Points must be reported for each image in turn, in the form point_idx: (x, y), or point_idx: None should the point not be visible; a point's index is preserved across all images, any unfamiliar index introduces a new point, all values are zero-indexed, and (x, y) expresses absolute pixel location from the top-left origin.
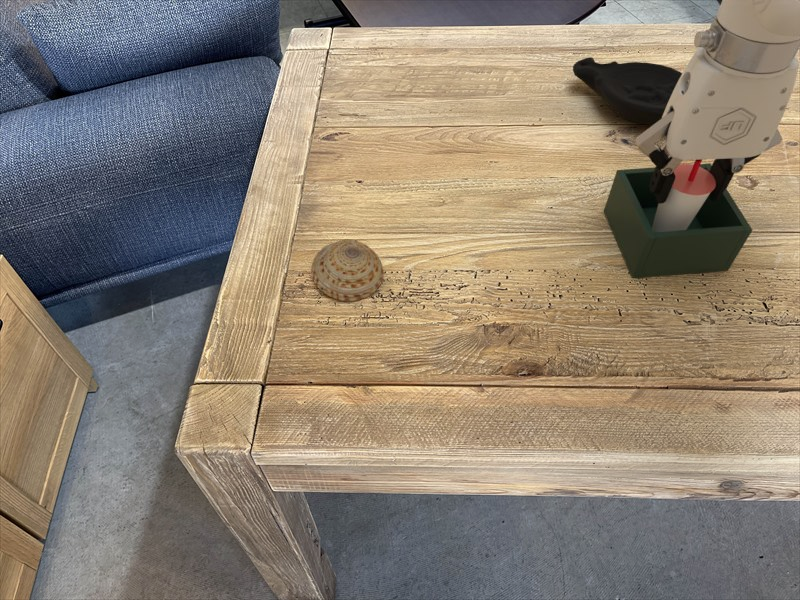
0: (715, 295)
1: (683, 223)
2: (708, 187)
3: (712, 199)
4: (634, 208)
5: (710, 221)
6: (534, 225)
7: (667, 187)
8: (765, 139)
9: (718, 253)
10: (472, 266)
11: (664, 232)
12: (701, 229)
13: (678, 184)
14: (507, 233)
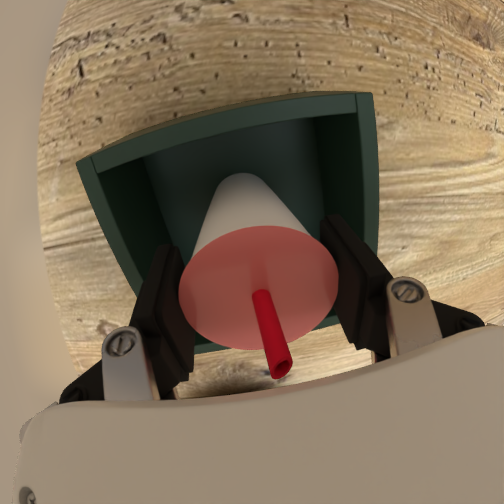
0: (159, 67)
1: (236, 190)
2: (205, 271)
3: (176, 247)
4: (378, 204)
5: (158, 233)
6: (432, 210)
7: (359, 246)
8: (32, 494)
9: (151, 128)
10: (496, 138)
11: (329, 110)
12: (213, 132)
13: (308, 270)
14: (461, 193)
